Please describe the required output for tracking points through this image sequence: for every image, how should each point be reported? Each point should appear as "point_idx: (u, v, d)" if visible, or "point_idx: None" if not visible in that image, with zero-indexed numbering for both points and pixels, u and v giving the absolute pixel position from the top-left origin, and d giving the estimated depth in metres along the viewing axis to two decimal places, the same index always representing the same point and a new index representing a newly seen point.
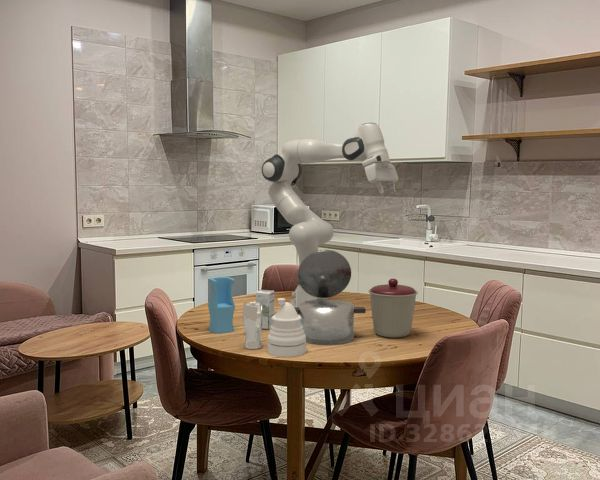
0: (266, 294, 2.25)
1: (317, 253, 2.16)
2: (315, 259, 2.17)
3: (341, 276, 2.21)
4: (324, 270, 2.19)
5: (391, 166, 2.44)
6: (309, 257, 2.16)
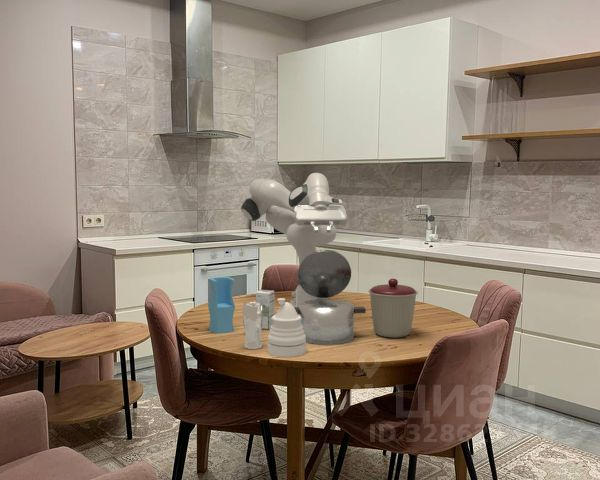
0: (266, 294, 2.25)
1: (317, 253, 2.16)
2: (315, 259, 2.17)
3: (341, 276, 2.21)
4: (324, 270, 2.19)
5: None
6: (309, 257, 2.16)
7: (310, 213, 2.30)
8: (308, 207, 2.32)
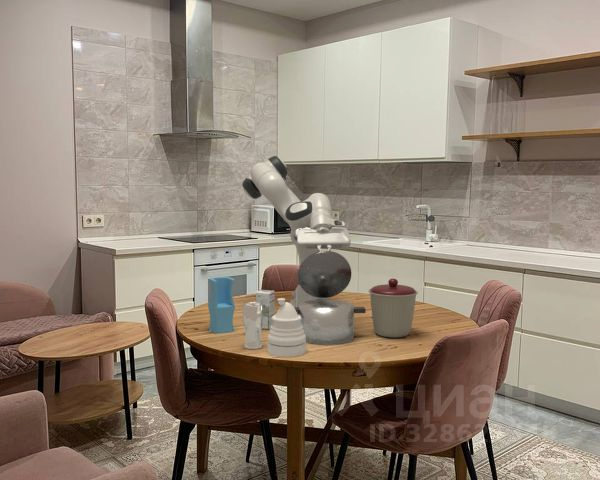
0: (266, 294, 2.25)
1: (317, 254, 2.15)
2: (315, 260, 2.16)
3: (341, 277, 2.21)
4: (324, 271, 2.19)
5: None
6: (309, 258, 2.16)
7: (312, 236, 2.21)
8: (310, 230, 2.23)
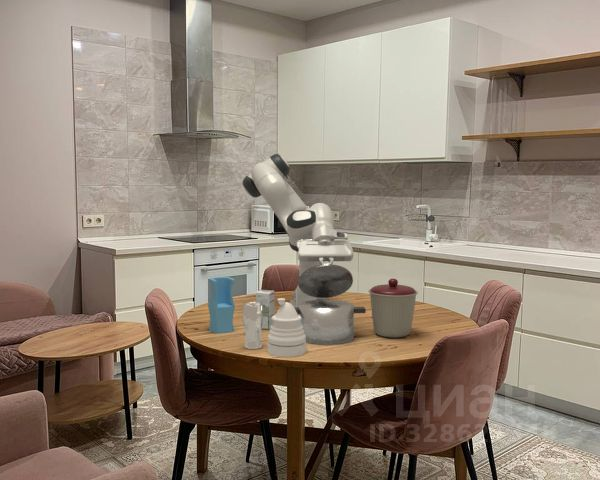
0: (266, 294, 2.25)
1: (319, 268, 2.09)
2: (317, 272, 2.11)
3: (342, 283, 2.18)
4: (325, 279, 2.15)
5: None
6: (311, 271, 2.10)
7: (314, 249, 2.15)
8: (311, 242, 2.17)
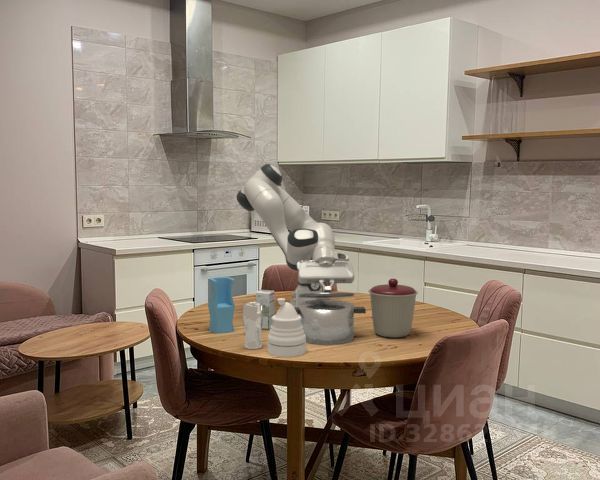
0: (266, 294, 2.25)
1: (320, 295, 2.05)
2: None
3: None
4: (326, 296, 2.13)
5: None
6: (312, 296, 2.07)
7: (314, 270, 2.11)
8: (312, 263, 2.13)
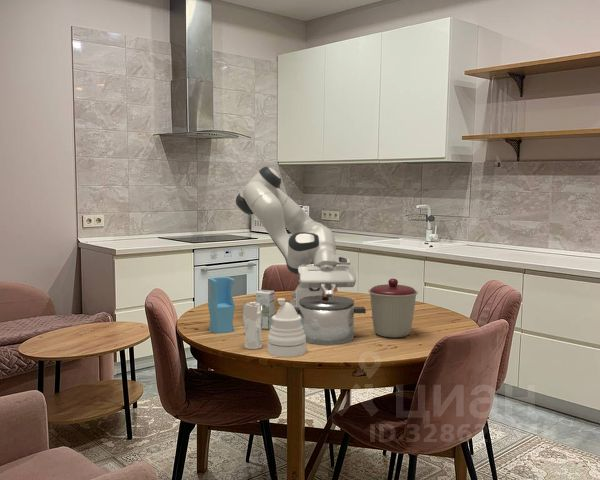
0: (266, 294, 2.25)
1: (320, 308, 2.05)
2: None
3: None
4: None
5: None
6: (312, 307, 2.07)
7: (315, 274, 2.11)
8: (313, 267, 2.13)
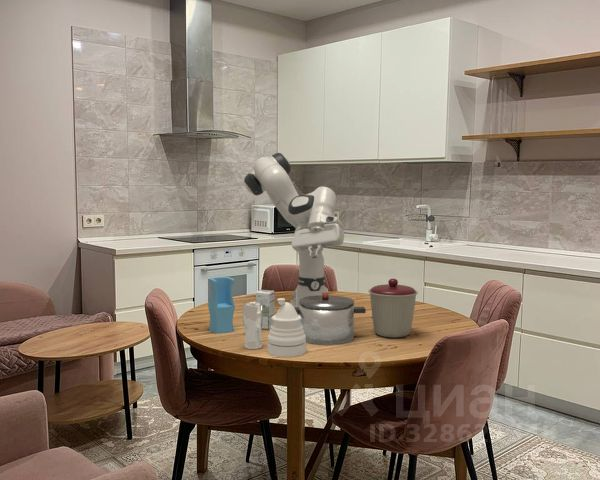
0: (266, 294, 2.25)
1: (320, 308, 2.05)
2: None
3: None
4: None
5: None
6: (312, 307, 2.07)
7: (305, 237, 2.16)
8: (305, 230, 2.18)
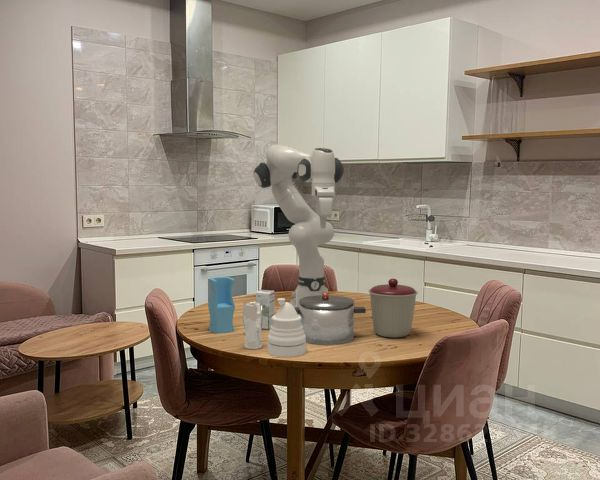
0: (266, 294, 2.25)
1: (320, 308, 2.05)
2: None
3: None
4: None
5: None
6: (312, 307, 2.07)
7: (317, 206, 2.27)
8: None
